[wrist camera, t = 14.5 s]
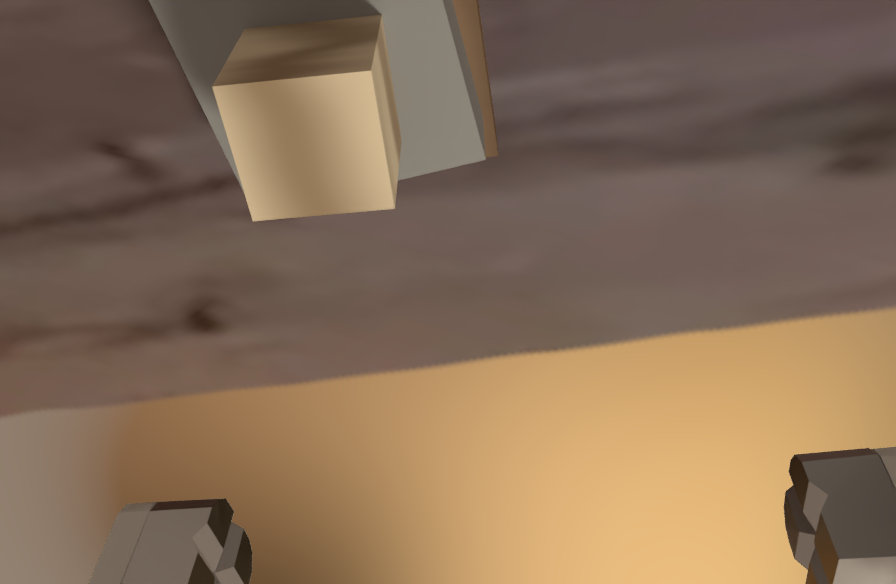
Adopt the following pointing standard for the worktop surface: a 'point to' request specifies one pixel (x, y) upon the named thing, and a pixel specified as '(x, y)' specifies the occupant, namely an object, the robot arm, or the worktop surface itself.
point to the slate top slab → (410, 56)
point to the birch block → (312, 118)
